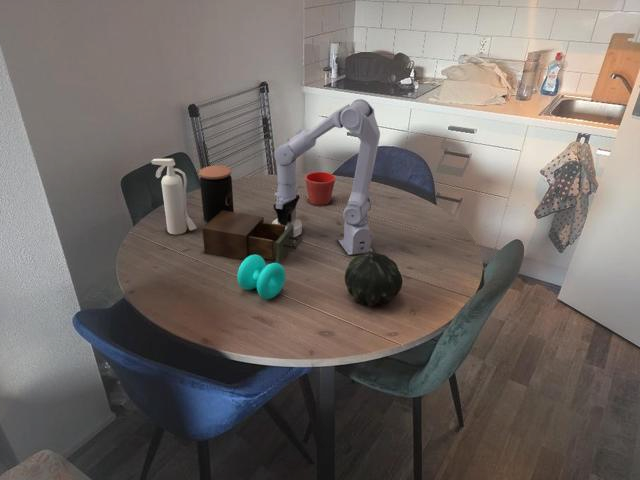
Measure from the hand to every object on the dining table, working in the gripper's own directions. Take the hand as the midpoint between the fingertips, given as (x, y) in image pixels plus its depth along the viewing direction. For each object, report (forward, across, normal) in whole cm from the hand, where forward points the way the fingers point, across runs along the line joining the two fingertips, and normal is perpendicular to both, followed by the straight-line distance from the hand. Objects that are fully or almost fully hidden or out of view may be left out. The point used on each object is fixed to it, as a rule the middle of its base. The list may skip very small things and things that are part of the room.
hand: (286, 220), depth 164 cm
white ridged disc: (+4, 0, 0) cm, 4 cm away
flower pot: (+4, -28, +3) cm, 28 cm away
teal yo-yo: (+4, +36, +6) cm, 37 cm away
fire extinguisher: (+4, +11, -34) cm, 36 cm away
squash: (+4, +28, +35) cm, 45 cm away
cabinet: (+4, +15, -12) cm, 20 cm away
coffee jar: (+4, -1, -26) cm, 26 cm away
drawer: (+3, +15, +1) cm, 15 cm away
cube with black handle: (+1, 0, 0) cm, 1 cm away
